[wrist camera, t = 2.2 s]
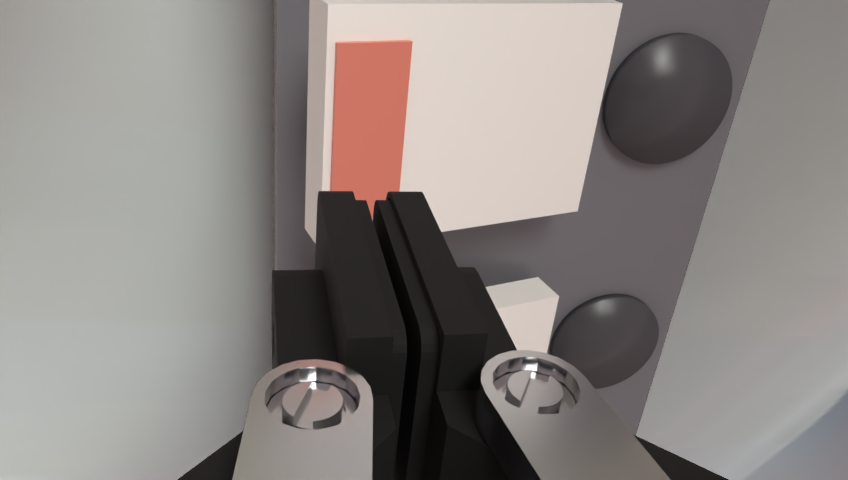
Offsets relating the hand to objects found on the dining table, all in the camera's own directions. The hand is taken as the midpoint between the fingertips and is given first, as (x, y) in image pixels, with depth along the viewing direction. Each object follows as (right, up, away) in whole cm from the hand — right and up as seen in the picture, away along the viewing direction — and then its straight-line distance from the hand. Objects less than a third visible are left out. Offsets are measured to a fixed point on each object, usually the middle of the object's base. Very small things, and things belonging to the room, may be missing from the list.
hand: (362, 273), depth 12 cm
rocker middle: (+2, +4, +8) cm, 9 cm away
